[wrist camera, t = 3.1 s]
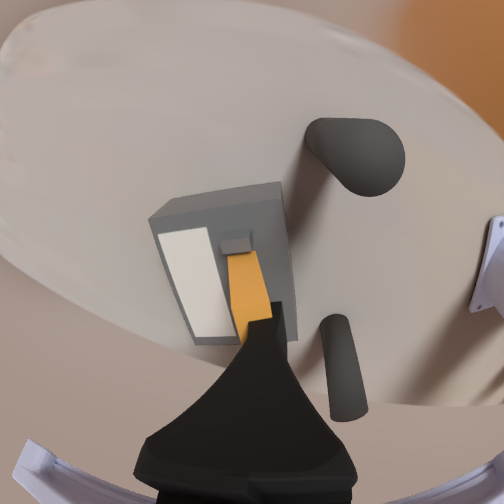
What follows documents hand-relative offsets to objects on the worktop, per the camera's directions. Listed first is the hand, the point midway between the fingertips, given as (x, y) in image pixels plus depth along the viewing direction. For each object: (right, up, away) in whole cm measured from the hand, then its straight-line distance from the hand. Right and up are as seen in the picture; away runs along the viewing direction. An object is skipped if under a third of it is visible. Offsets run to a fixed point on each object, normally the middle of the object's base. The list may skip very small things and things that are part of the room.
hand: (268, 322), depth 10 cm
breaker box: (-1, +2, +5) cm, 6 cm away
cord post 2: (+5, -2, +7) cm, 9 cm away
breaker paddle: (-1, +1, +2) cm, 3 cm away
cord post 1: (+3, +8, +2) cm, 9 cm away
